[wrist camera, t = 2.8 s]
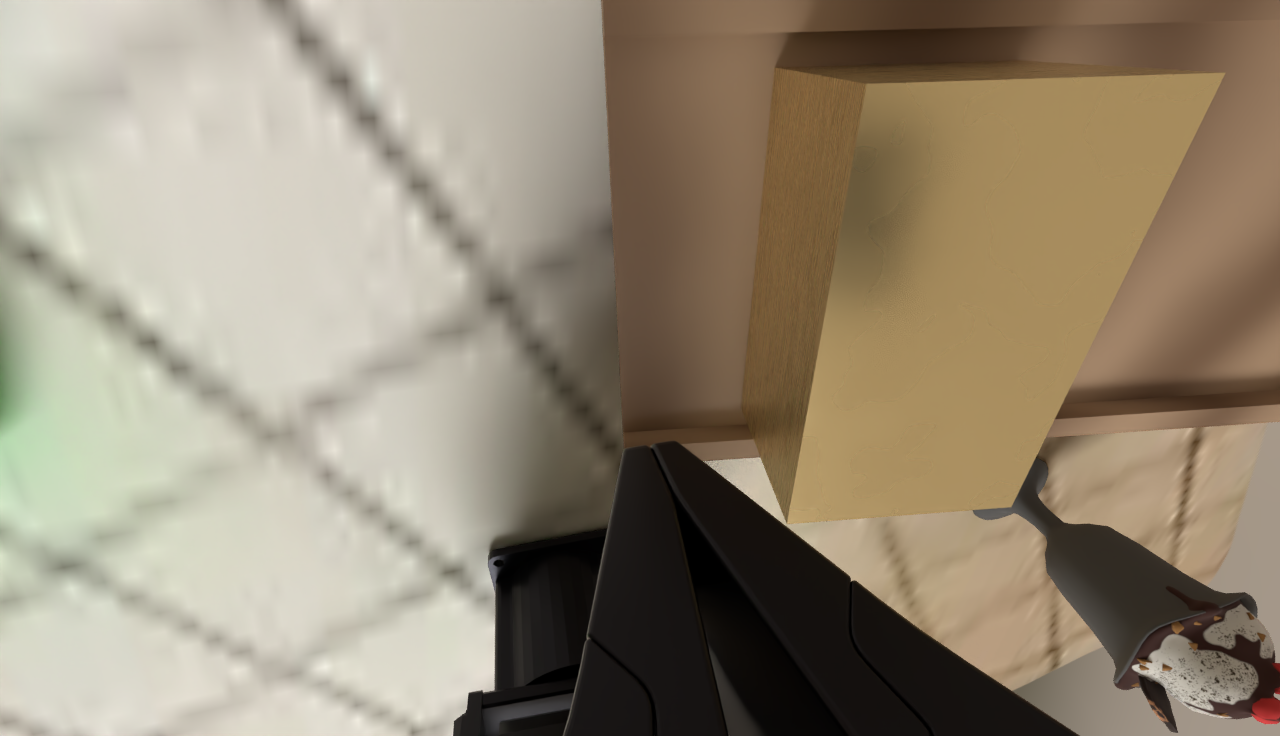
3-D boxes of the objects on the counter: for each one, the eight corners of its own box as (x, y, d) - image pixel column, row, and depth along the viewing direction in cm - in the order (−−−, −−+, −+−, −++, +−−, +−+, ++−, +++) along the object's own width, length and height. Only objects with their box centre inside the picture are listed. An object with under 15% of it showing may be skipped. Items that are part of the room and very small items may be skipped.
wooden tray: (622, 430, 21) (628, 510, 17) (598, -41, 13) (601, -69, 9) (1249, 390, 22) (1371, 456, 19) (1568, -59, 14) (1880, -89, 11)
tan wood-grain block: (740, 408, 18) (786, 524, 14) (774, 67, 13) (866, 83, 8) (914, 397, 18) (1011, 507, 14) (1017, 60, 13) (1225, 72, 9)
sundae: (1071, 430, 31) (1463, 700, 18) (1045, 508, 34) (1354, 776, 22) (967, 464, 30) (1296, 765, 18) (951, 539, 34) (1214, 832, 21)
